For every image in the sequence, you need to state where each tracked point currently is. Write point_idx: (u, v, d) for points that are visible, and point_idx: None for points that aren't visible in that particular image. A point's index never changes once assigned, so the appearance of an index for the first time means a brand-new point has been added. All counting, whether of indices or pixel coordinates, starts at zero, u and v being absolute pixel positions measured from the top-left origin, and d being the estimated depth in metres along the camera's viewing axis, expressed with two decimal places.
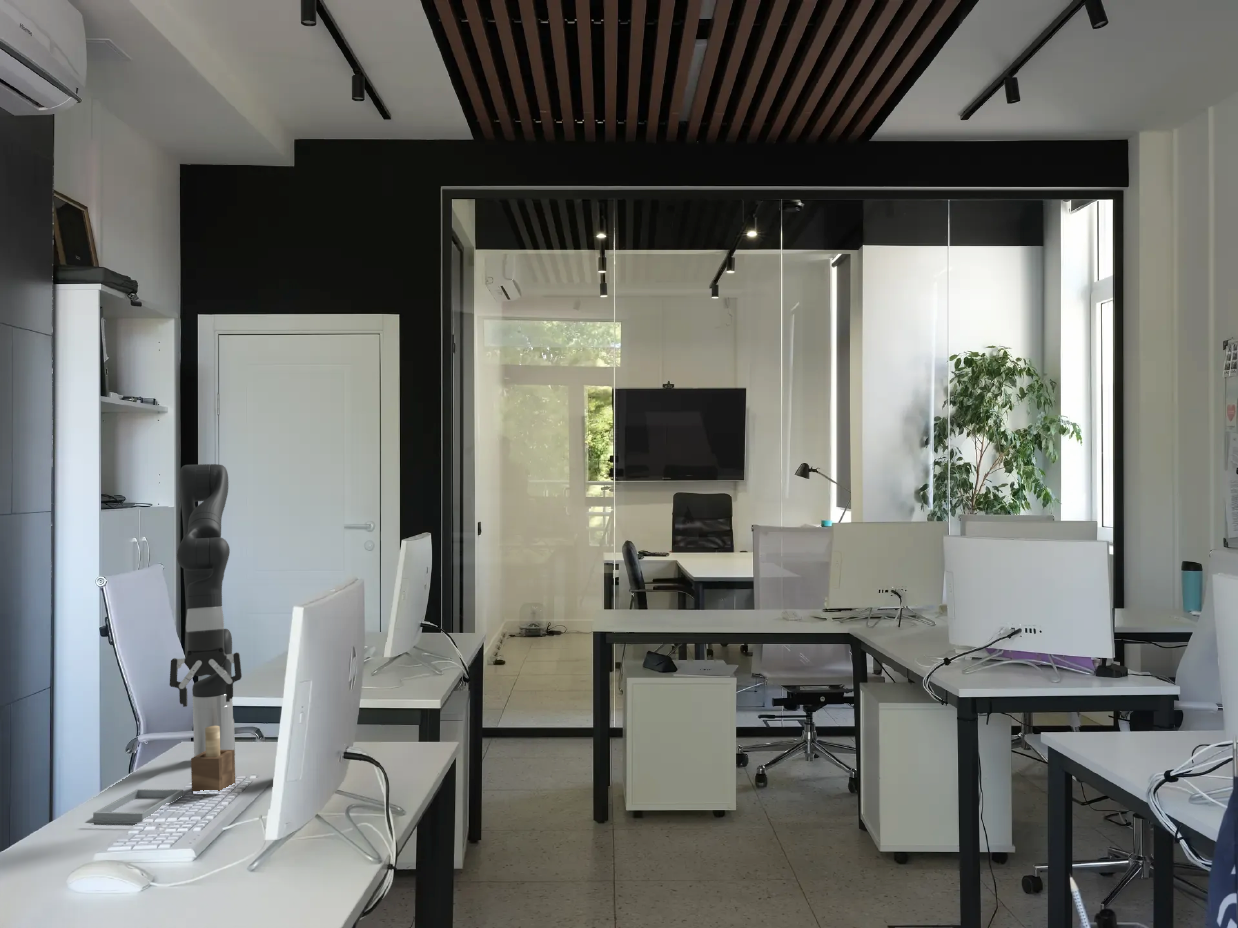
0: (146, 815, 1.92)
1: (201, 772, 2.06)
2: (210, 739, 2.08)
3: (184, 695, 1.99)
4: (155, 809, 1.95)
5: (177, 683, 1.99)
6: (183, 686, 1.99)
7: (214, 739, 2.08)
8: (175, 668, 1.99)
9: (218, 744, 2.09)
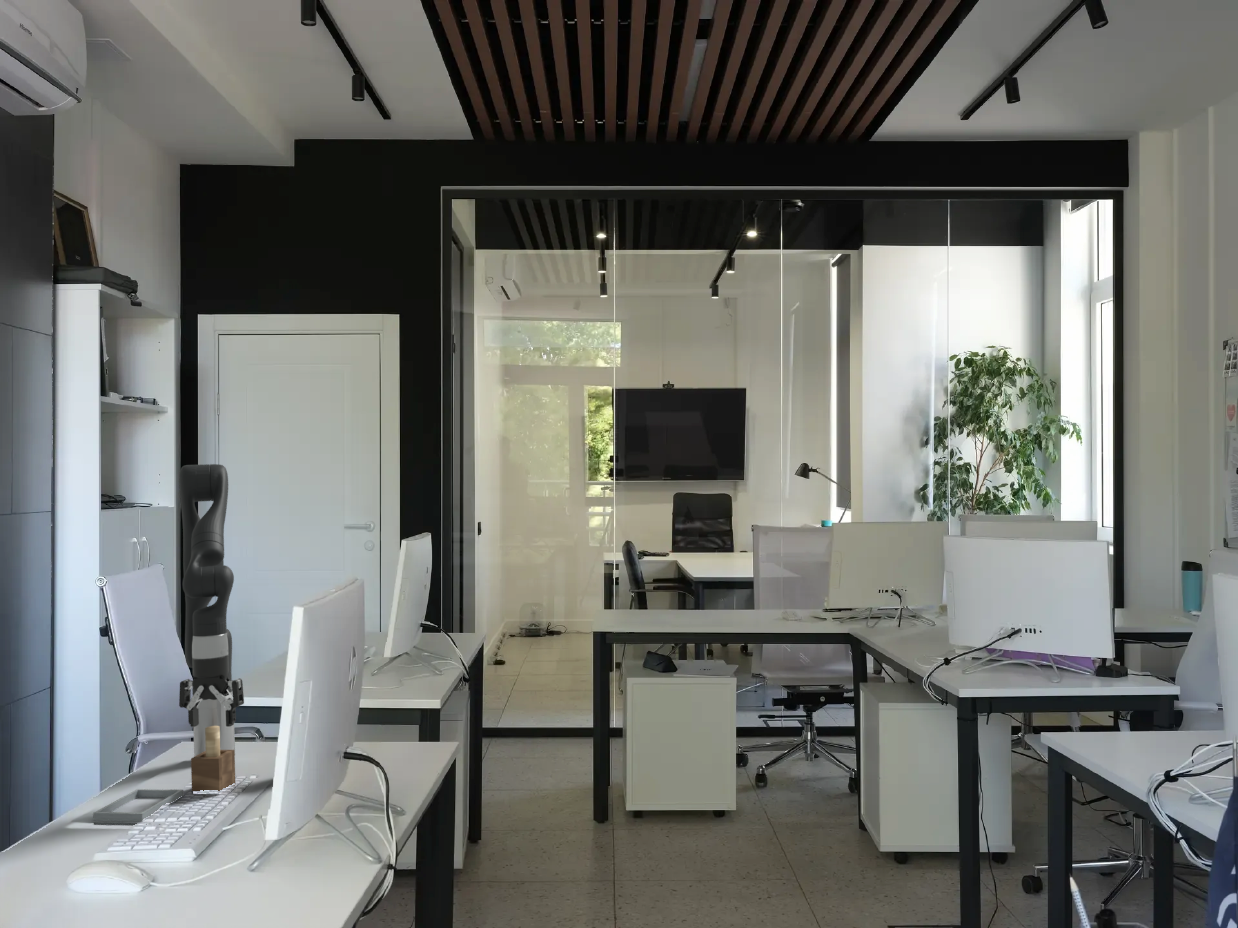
0: (146, 815, 1.92)
1: (201, 772, 2.06)
2: (210, 739, 2.08)
3: (191, 716, 2.09)
4: (155, 809, 1.95)
5: (186, 704, 2.09)
6: (190, 708, 2.09)
7: (214, 739, 2.08)
8: (183, 690, 2.09)
9: (218, 744, 2.09)
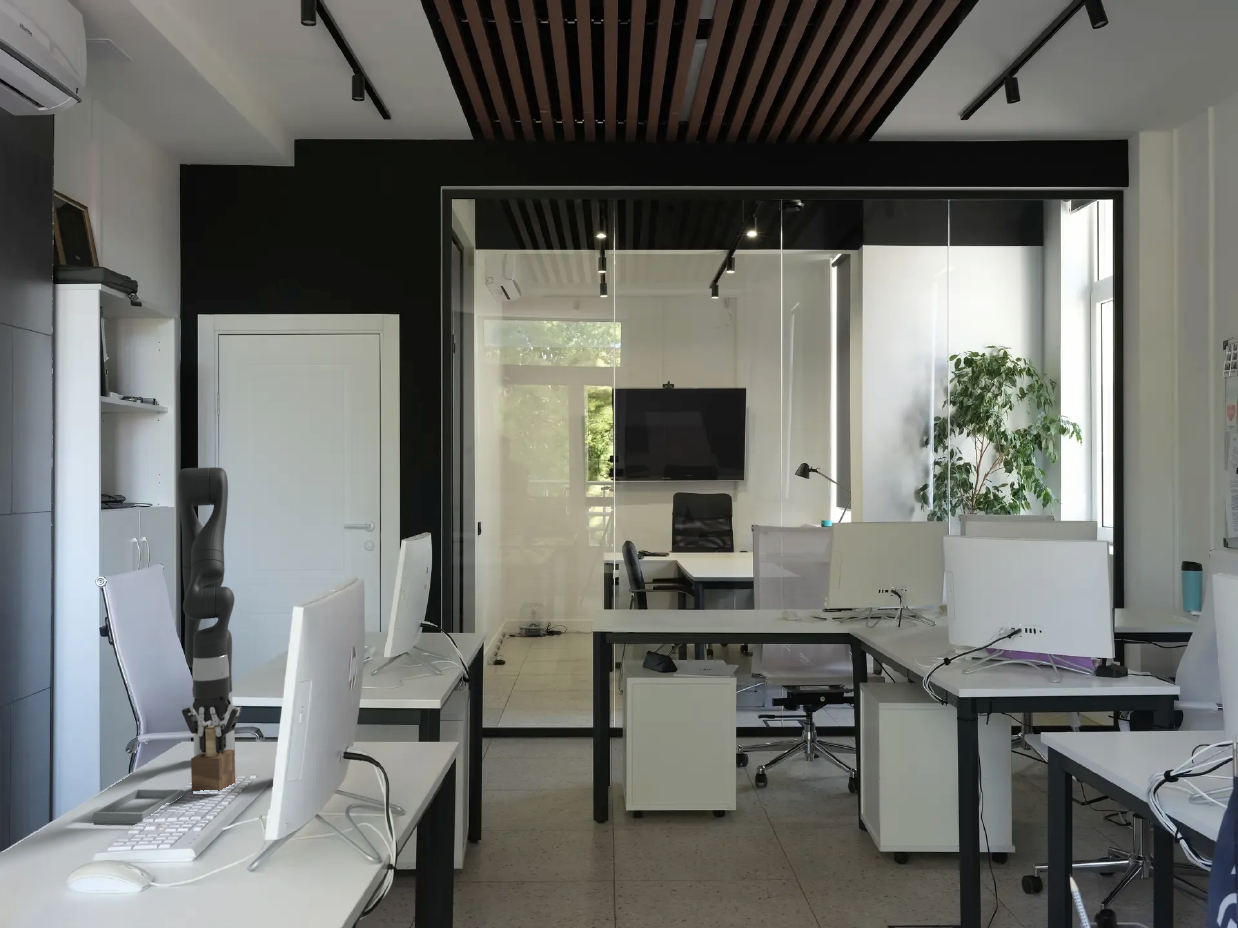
0: (146, 815, 1.92)
1: (201, 772, 2.06)
2: (211, 739, 2.08)
3: (202, 742, 2.09)
4: (155, 809, 1.95)
5: (197, 728, 2.09)
6: (201, 734, 2.08)
7: (214, 739, 2.08)
8: (188, 717, 2.09)
9: None
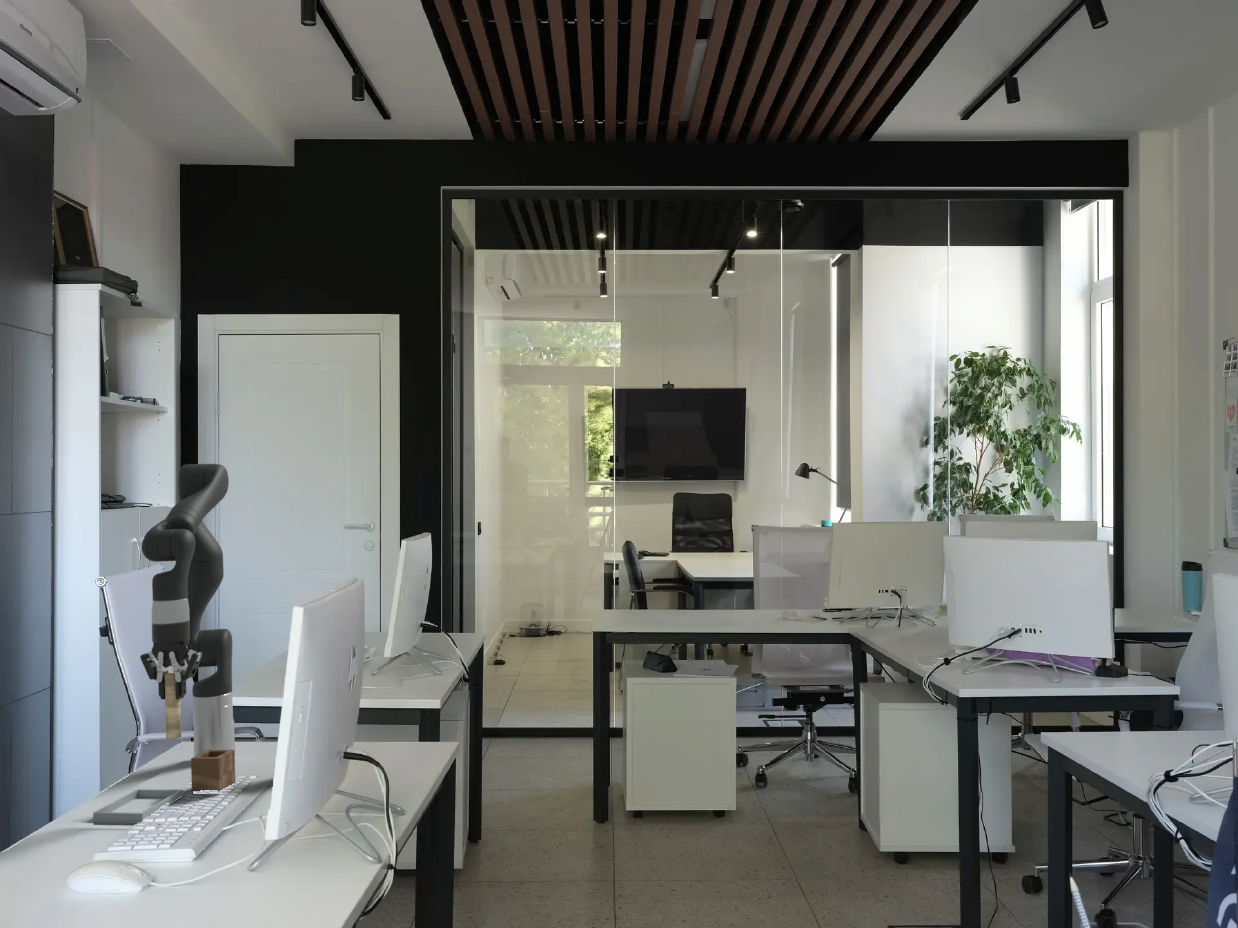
0: (146, 815, 1.92)
1: (201, 772, 2.06)
2: (170, 685, 2.02)
3: (161, 688, 2.03)
4: (155, 809, 1.95)
5: (156, 674, 2.03)
6: (160, 680, 2.02)
7: (174, 685, 2.02)
8: (147, 662, 2.03)
9: None
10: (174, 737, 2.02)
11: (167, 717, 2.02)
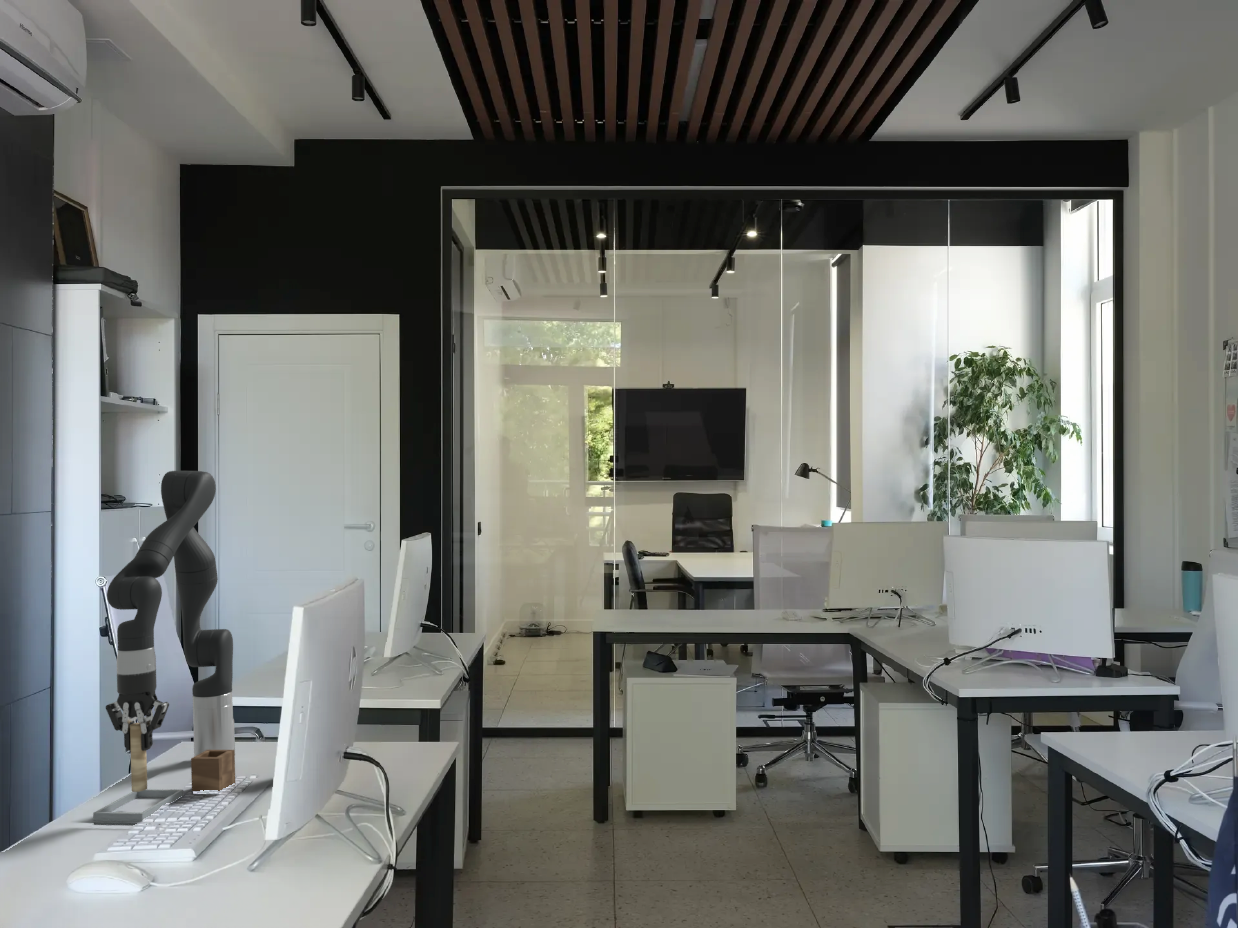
0: (146, 815, 1.92)
1: (201, 772, 2.06)
2: (135, 736, 1.97)
3: (127, 739, 1.98)
4: (155, 809, 1.95)
5: (121, 725, 1.99)
6: (126, 731, 1.98)
7: (140, 737, 1.98)
8: (112, 713, 1.98)
9: None
10: (139, 789, 1.97)
11: (132, 769, 1.97)
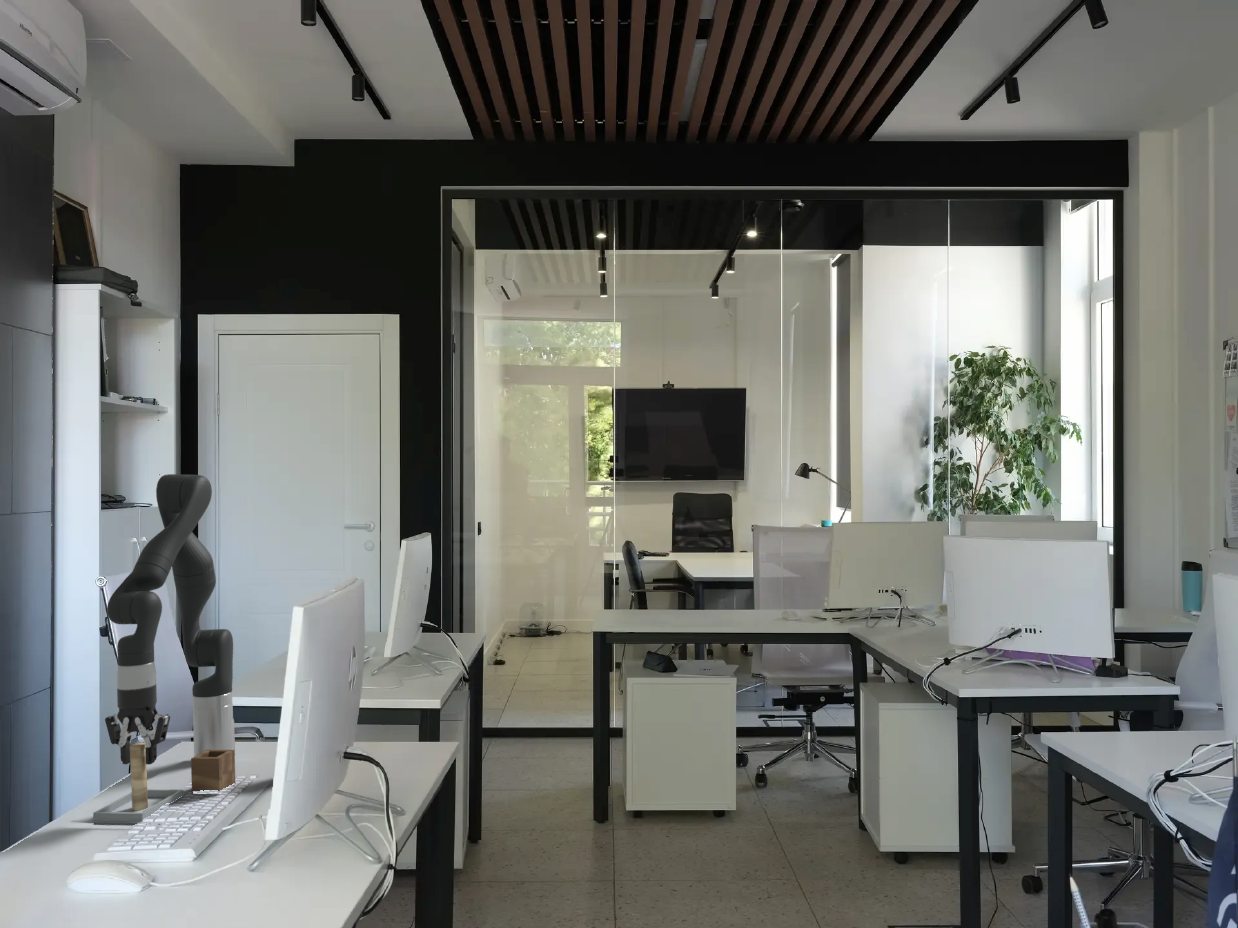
0: (146, 815, 1.92)
1: (201, 772, 2.06)
2: (135, 757, 1.97)
3: (123, 753, 1.98)
4: (155, 809, 1.95)
5: (118, 739, 1.99)
6: (122, 744, 1.98)
7: (139, 757, 1.98)
8: (111, 726, 1.98)
9: (144, 762, 1.98)
10: None
11: (133, 790, 1.97)
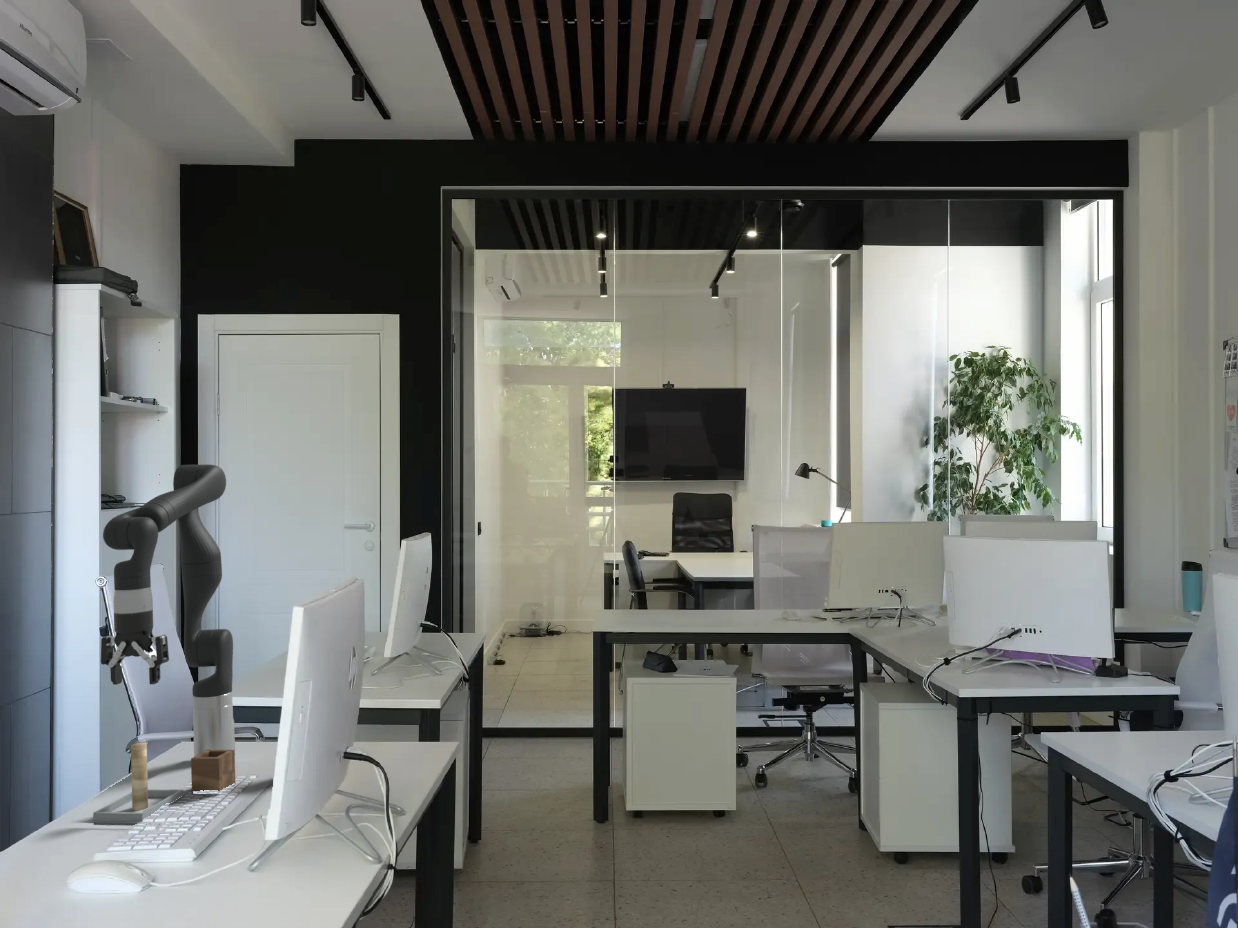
0: (146, 815, 1.92)
1: (201, 772, 2.06)
2: (136, 757, 1.97)
3: (113, 674, 2.00)
4: (155, 809, 1.95)
5: (108, 661, 2.00)
6: (112, 665, 2.00)
7: (141, 757, 1.98)
8: (105, 646, 2.00)
9: (145, 762, 1.98)
10: None
11: (133, 790, 1.97)
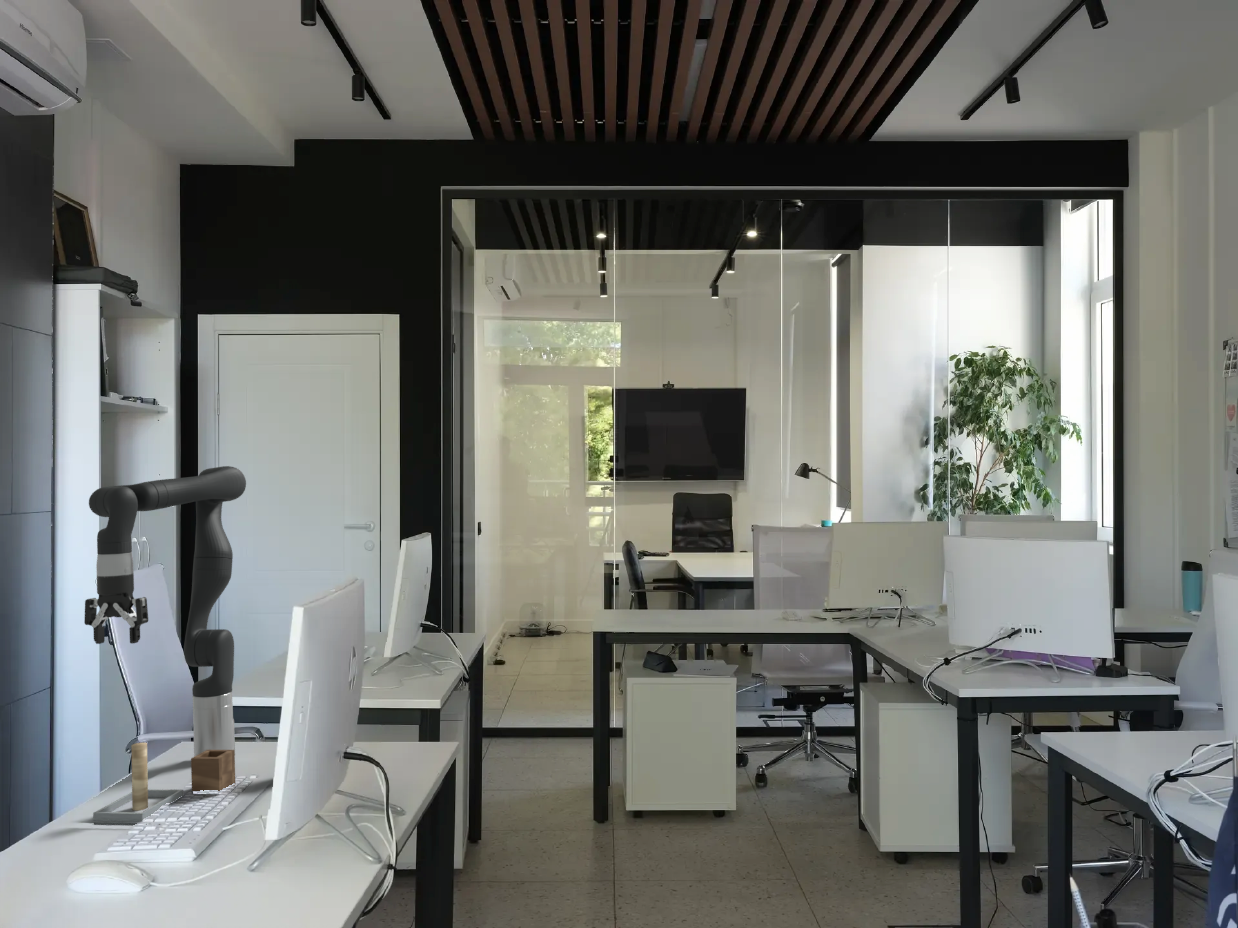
0: (146, 815, 1.92)
1: (201, 772, 2.06)
2: (137, 757, 1.97)
3: (96, 633, 2.13)
4: (155, 809, 1.95)
5: (91, 622, 2.13)
6: (95, 625, 2.13)
7: (141, 757, 1.98)
8: (88, 608, 2.13)
9: (145, 762, 1.98)
10: None
11: (133, 789, 1.97)
